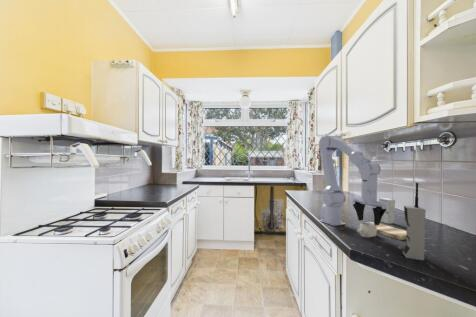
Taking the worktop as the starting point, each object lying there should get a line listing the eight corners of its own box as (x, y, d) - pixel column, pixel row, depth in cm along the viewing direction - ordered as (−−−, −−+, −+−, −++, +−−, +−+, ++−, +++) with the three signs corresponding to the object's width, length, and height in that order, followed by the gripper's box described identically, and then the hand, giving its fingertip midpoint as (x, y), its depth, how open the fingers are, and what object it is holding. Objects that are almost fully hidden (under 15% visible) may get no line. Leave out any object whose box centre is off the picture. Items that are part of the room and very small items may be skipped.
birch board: (364, 228, 109) (364, 225, 109) (379, 226, 113) (379, 223, 113) (400, 240, 95) (400, 236, 95) (415, 237, 99) (415, 233, 99)
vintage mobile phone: (402, 253, 81) (404, 181, 81) (420, 256, 79) (422, 182, 79) (405, 258, 78) (407, 182, 77) (424, 260, 76) (426, 183, 75)
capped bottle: (355, 235, 99) (355, 223, 99) (370, 232, 103) (370, 221, 103) (362, 238, 96) (362, 226, 96) (378, 235, 100) (378, 223, 100)
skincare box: (377, 220, 124) (378, 197, 124) (384, 220, 125) (384, 197, 125) (388, 224, 118) (388, 199, 118) (394, 223, 119) (395, 199, 119)
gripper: (348, 188, 105) (347, 219, 105) (379, 193, 92) (378, 228, 92) (359, 188, 108) (358, 217, 108) (390, 192, 94) (390, 226, 94)
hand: (368, 222), depth 100 cm, fingers open, 7 cm apart
